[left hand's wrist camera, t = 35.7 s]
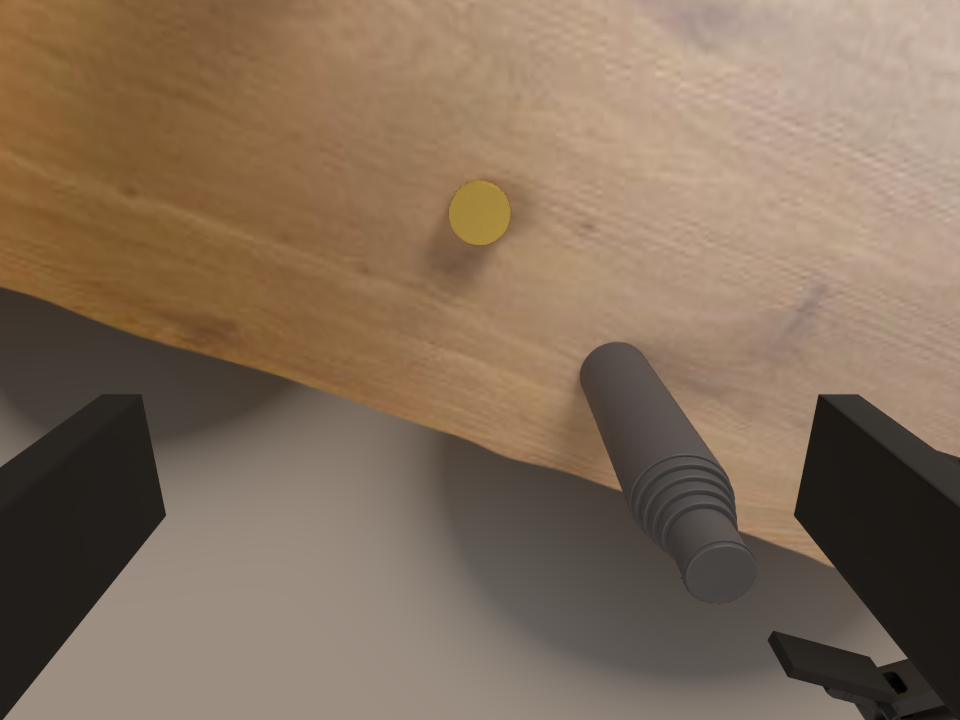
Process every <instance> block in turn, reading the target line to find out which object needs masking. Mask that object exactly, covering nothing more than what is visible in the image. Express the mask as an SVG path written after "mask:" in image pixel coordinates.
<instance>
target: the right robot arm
mask: <svg viewBox="0 0 960 720" xmlns="http://www.w3.org/2000/svg"><path fill="white" fill-rule="evenodd" d="M938 452H939V453H940V454H942V455H943V456H944V457H946V458H947V459H949V460H950V461H951V462H953V463H954V464H956V465H957V466H958V467H960V458H959V457H955V456H952V455H949V454H946V453H943V452H940V451H938ZM768 642H769V644H770V646H771V647H772V649H773V651H774V653H775V655H776V656H777V658H778V660H779V662H780V664H781V665H782V667H783V669H784V671H785V673H786V674H787V676H788V677H790V678H794V679H798V680H801V681H805V682H809V683H813V684H817V685H820V686H823V687H824V689H825V691H826V692H827V694H829V695H830V696H831V697H833V698H836V699H840V700H841V699H842V700H844V701H849V702H851V703H855V705H856V707H857V708H858V710H859V711H860V713H861V714H862V716H863V718H864V719H865V720H957V719H956V718H955V716H954V715H953V714H952V713H951V711H950V710H949V709H948V708H947V706H946V705H945V704H944V703H943V701H942V700H941V699H940V698H939V696H938V695H937V694H936V693H935V691H934V690H933V689H932V688H931V686H930V685H929V684H928V683H927V681H926V680H925V679H924V678H923V676H922V675H921V674H920V673H919V671H918V670H917V669H916V668H915V666H914V665H913V664H912V663H911V661H910V660H909V659H905V660H902V661H898V662H895V663H891V664H888V665H884V666H881V667H876V665H875V664H874V662H873V661H872V660H871V658H870V657H868V656H864V655H860V654H857V653H853V652H849V651H846V650H842V649H838V648H835V647H831V646H827V645H823V644H820V643H816V642H813V641H809V640H805V639H802V638H798V637H794V636H790V635H787V634H783V633H779V632H776V631H773V632H772V634H771V635H770V637H769V639H768ZM893 689H894V690H893Z"/></svg>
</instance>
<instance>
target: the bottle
mask: <svg viewBox="0 0 960 720" xmlns="http://www.w3.org/2000/svg"><path fill="white" fill-rule="evenodd" d="M580 379H581V385H582V387H583V390H584V393H585V395H586V398H587V400H588V403H589V406H590V408H591V411H592V413H593V416H594V418H595V421H596V424H597V426H598V429H599V431H600V434H601V436H602V439H603V442H604V444H605V447H606V449H607V452H608V455H609V457H610V460H611V462H612V465H613V467H614V470H615V473H616V475H617V478H618V480H619V483H620V486H621V488H622V491H623V493H624V496H625V498H626V501H627V504H628V506H629V509H630V511H631V514H632V516H633V518H634V520H635V522H636V523H637V524H638V526H639V527H640V529H641V530H642V532H643V533H644V534H645V535H646V536H647V537H648V538H649V539H651V540H652V541H653V542H654V543H655V544H656V545H658V546H659V547H660V548H661V549H662V550H663V551H664V552H666V553H667V554H668V555H669V556H670V557H671V558H672V559H674V560H675V561H676V563H677V565H678V568H679V570H680V572H681V574H682V577H681V579H682V581H683V583H684V585H685V587H686V589H687V591H688V592H689V593H690V594H691V595H692V596H693V597H695V598H697V599H699V600H700V601H704V602H707V603H718V604H720V603H726V602H731V601H733V600H735V599H737V598H739V597H740V596H742V595H743V594H745V593H746V592H747V591H748V590H749V589H750V588H751V586H752V585H753V583H754V581H755V578H756V574H757V567H756V559H755V557H754V555H753V553H752V552H751V550H750V549H749V548H748V547H747V546H745V544H744V542H743V541H742V539H741V538H740V536H739V534H738V526H737V515H736V507H735V496H734V491H733V488H732V486H731V484H730V481H729V478H728V476H727V474H726V472H725V471H724V470H723V468H722V467H721V465H720V464H719V462H718V461H717V460H716V458H715V457H714V455H713V454H712V452H711V451H710V450H709V448H708V447H707V445H706V444H705V442H704V441H703V440H702V438H701V437H700V435H699V434H698V432H697V431H696V430H695V428H694V427H693V425H692V424H691V423H690V421H689V420H688V418H687V417H686V415H685V414H684V413H683V411H682V410H681V408H680V407H679V405H678V404H677V403H676V401H675V400H674V398H673V397H672V395H671V394H670V393H669V391H668V390H667V388H666V387H665V385H664V384H663V383H662V381H661V380H660V378H659V377H658V376H657V374H656V373H655V371H654V370H653V368H652V367H651V366H650V364H649V363H648V361H647V360H646V358H645V357H644V356H643V354H642V353H641V352H640V351H639V350H638V349H636V348H635V347H633V346H631V345H629V344H625V343H609V344H605V345H602V346H600V347H598V348H597V349H595V350H594V351H593V352H591V353H590V354H589V355H588V357H587V358H586V359H585V361H584V363H583V365H582V368H581V373H580Z"/></svg>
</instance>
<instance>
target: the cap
mask: <svg viewBox="0 0 960 720" xmlns="http://www.w3.org/2000/svg"><path fill="white" fill-rule="evenodd" d="M451 200H452V201H451V204H450V205H449V207H450V208H449V213H448V215H449V222H450V224H451V227H452V229H453V231H454V232H455V233H456V235H457V236H458V237H459V238H460V239H462V240H463V241H465V242H467V243H469V244H472V245H487V244H490V243H493V242H495V241H496V240H498V239H499V238H500V237H501V236H502V235H503V234H504V233H505V231H506V229H507V228H508V225H509V222H510V218H511V216H510V211H511V208H510V206H509V200H507V198H506V194H504V193H503V191H502V190H501V188H499V187H498V186H496V184H493V183H490V182H489V181H482V180H478V181H475V180H474V181H472V182H469V183H468V182H467V184H465V185H463V186H461V187H460V189H459V190H458V191H456V192H455V195H454V197H452V199H451Z"/></svg>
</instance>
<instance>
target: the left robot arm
mask: <svg viewBox="0 0 960 720" xmlns="http://www.w3.org/2000/svg"><path fill="white" fill-rule="evenodd" d="M165 516H166V513H165V508H164V503H163V498H162V493H161V488H160V484H159V479H158V474H157V469H156V464H155V459H154V454H153V449H152V444H151V439H150V434H149V430H148V425H147V420H146V415H145V410H144V405H143V400H142V395H141V394H140V395H139V394H137V395H136V394H135V395H133V394H132V395H131V394H122V395H121V394H119V395H118V394H117V395H115V394H112V395H109V394H106V395H105V394H103V395H100V396H99V397H98V398H96V399H95V400H93V401H92V402H91V403H89V404H88V405H87V406H85V407H84V408H82V409H81V410H80V411H78V412H77V413H75V414H74V415H73V416H71V417H70V418H68V419H67V420H66V421H64V422H63V423H61V424H60V425H59V426H57V427H56V428H55V429H53V430H52V431H50V432H49V433H48V434H46V435H45V436H43V437H42V438H41V439H39V440H38V441H36V442H35V443H34V444H32V445H31V446H29V447H28V448H27V449H25V450H24V451H22V452H21V453H20V454H18V455H17V456H16V457H14V458H13V459H11V460H10V461H9V462H7V463H6V464H4V465H3V466H2V467H0V720H3V719H4V718H5V716H6V715H7V714H8V713H9V711H10V710H11V709H12V708H13V706H14V705H15V704H16V703H17V701H18V700H19V699H20V698H21V696H22V695H23V694H24V693H25V691H26V690H27V689H28V688H29V686H30V685H31V684H32V683H33V681H34V680H35V679H36V678H37V676H38V675H39V674H40V673H41V671H42V670H43V669H44V668H45V666H46V665H47V664H48V663H49V661H50V660H51V659H52V658H53V656H54V655H55V654H56V653H57V651H58V650H59V649H60V648H61V646H62V645H63V644H64V642H65V641H66V640H67V639H68V637H69V636H70V635H71V634H72V633H73V631H74V630H75V629H76V628H77V626H78V625H79V624H80V622H81V621H82V620H83V619H84V618H85V616H86V615H87V614H88V612H89V611H90V610H91V609H92V608H93V606H94V605H95V604H96V603H97V601H98V600H99V599H100V598H101V596H102V595H103V594H104V592H105V591H106V590H107V589H108V588H109V586H110V585H111V584H112V582H113V581H114V580H115V579H116V577H117V576H118V575H119V574H120V572H121V571H122V570H123V569H124V567H125V566H126V565H127V564H128V562H129V561H130V560H131V559H132V557H133V556H134V555H135V554H136V552H137V551H138V550H139V549H140V547H141V546H142V545H143V544H144V542H145V541H146V540H147V539H148V537H149V536H150V535H151V534H152V532H153V531H154V530H155V529H156V527H157V526H158V525H159V524H160V522H161V521H162V520H163V519H164V517H165ZM794 516H795V517H796V519H797V520H798V521H799V522H800V524H801V525H802V526H803V527H804V529H805V530H806V531H807V532H808V534H809V535H810V536H811V537H812V539H813V540H814V541H815V542H816V544H817V545H818V546H819V547H820V549H821V550H822V551H823V552H824V554H825V555H826V556H827V557H828V559H829V560H830V561H831V562H832V564H833V565H834V566H835V567H836V569H837V570H838V571H839V572H840V574H841V575H842V576H843V577H844V579H845V580H846V581H847V582H848V584H849V585H850V586H851V587H852V589H853V590H854V591H855V593H856V594H857V595H858V596H859V598H860V599H861V600H862V601H863V603H864V604H865V605H866V606H867V608H868V609H869V610H870V611H871V613H872V614H873V615H874V616H875V617H876V619H877V620H878V621H879V623H880V624H881V625H882V626H883V627H884V629H885V630H886V631H887V633H888V634H889V635H890V636H891V638H892V639H893V640H894V641H895V643H896V644H897V645H898V646H899V648H900V649H901V650H902V651H903V653H904V654H905V655H906V656H907V658H908V659H909V660H910V661H911V663H912V664H913V665H914V666H915V668H916V669H917V670H918V671H919V673H920V674H921V675H922V676H923V678H924V679H925V680H926V681H927V683H928V684H929V685H930V686H931V688H932V689H933V690H934V691H935V693H936V694H937V695H938V696H939V698H940V699H941V700H942V701H943V703H944V704H945V705H946V706H947V708H948V709H949V710H950V711H951V713H952V714H953V715H954V716H955V718H956V719H957V720H960V467H958V466H957V465H956V464H954V463H953V462H951V461H950V460H949V459H947V458H946V457H944V456H943V455H942V454H940V453H939V452H938V451H936V450H935V449H933V448H932V447H931V446H929V445H928V444H926V443H925V442H924V441H922V440H921V439H919V438H918V437H917V436H915V435H914V434H912V433H911V432H910V431H908V430H907V429H905V428H904V427H903V426H901V425H900V424H899V423H897V422H896V421H894V420H893V419H892V418H890V417H889V416H887V415H886V414H885V413H883V412H882V411H880V410H879V409H878V408H876V407H875V406H873V405H872V404H871V403H869V402H868V401H867V400H865V399H864V398H862V397H861V396H860V395H858V394H819V395H818V400H817V405H816V410H815V415H814V420H813V425H812V430H811V434H810V439H809V444H808V449H807V454H806V459H805V464H804V469H803V474H802V479H801V483H800V488H799V493H798V498H797V503H796V508H795V513H794Z"/></svg>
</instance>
